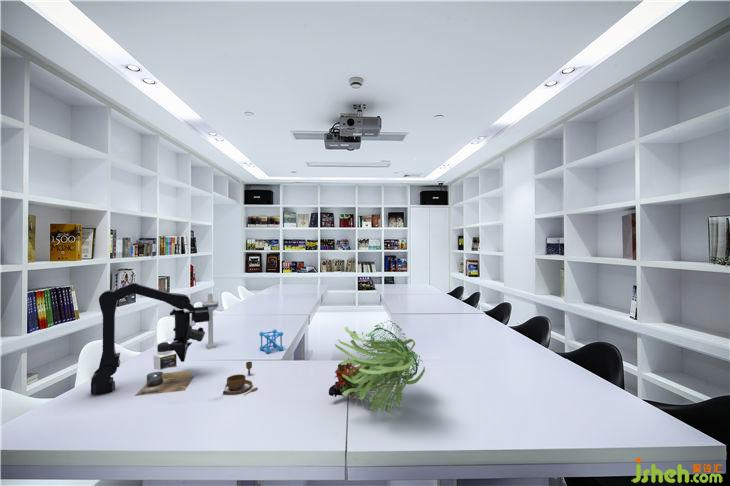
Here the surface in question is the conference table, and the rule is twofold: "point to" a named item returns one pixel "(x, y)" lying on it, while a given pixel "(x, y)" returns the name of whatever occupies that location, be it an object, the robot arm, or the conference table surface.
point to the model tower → (210, 319)
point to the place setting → (239, 382)
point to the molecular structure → (271, 341)
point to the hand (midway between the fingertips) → (182, 361)
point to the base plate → (167, 386)
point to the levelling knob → (164, 377)
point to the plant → (377, 369)
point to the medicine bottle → (164, 357)
